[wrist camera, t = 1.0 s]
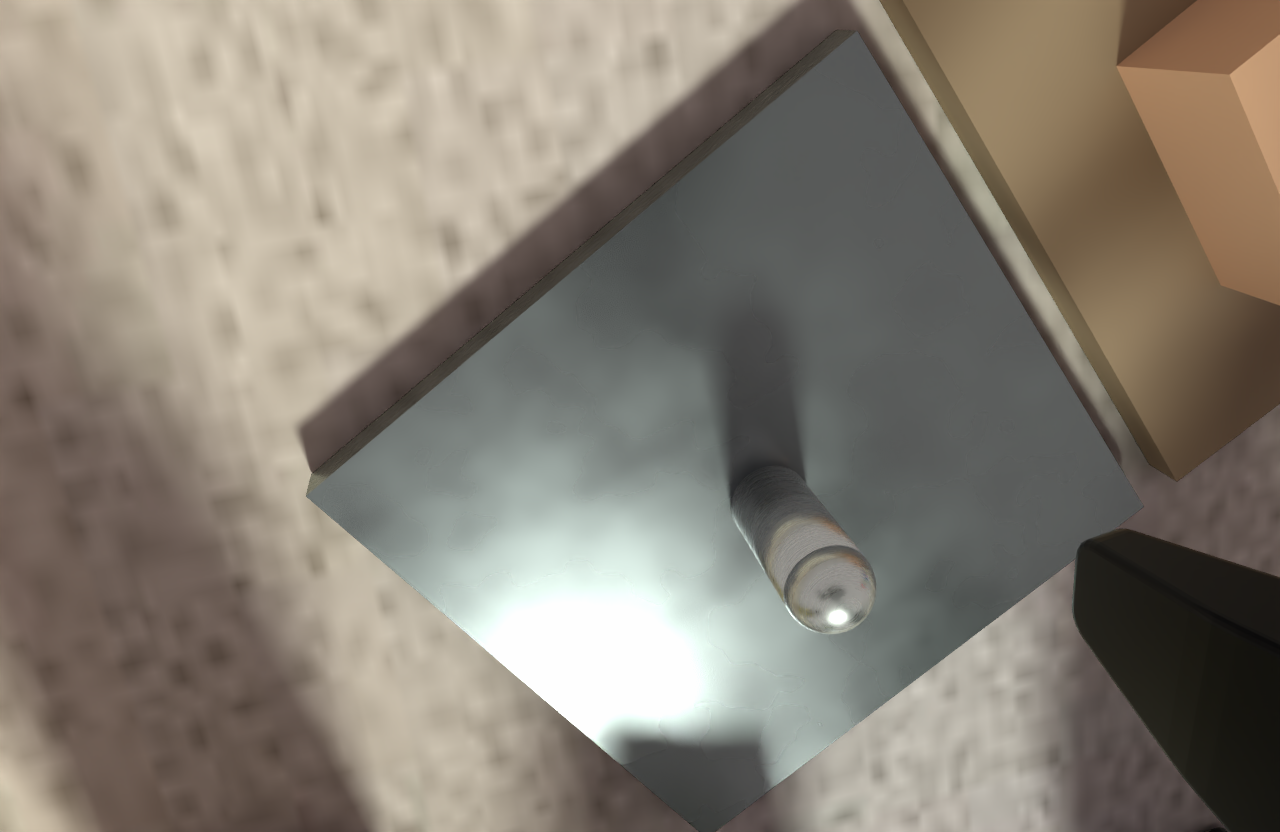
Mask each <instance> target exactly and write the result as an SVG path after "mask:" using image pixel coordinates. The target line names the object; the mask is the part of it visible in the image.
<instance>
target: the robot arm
mask: <svg viewBox="0 0 1280 832" xmlns="http://www.w3.org/2000/svg"><path fill="white" fill-rule="evenodd" d="M1072 613H1073V618H1074V621H1075V624H1076V627H1077V629H1078V631H1079V633H1080V634H1081V636H1082V637H1083V639H1084V640H1085V642H1086V643H1087V644H1088V646H1089V647H1090V649H1091V650H1092V652H1093V653H1094V654H1095V656H1096V657H1097V659H1098V660H1099V661H1100V663H1101V664H1102V666H1103V667H1104V668H1105V670H1106V671H1107V673H1108V674H1109V675H1110V677H1111V678H1112V680H1113V681H1114V682H1115V684H1116V685H1117V687H1118V688H1119V689H1120V691H1121V692H1122V694H1123V695H1124V696H1125V698H1126V699H1127V701H1128V702H1129V704H1130V705H1131V706H1132V708H1133V709H1134V711H1135V712H1136V713H1137V715H1138V716H1139V718H1140V719H1141V720H1142V722H1143V723H1144V725H1145V726H1146V727H1147V729H1148V730H1149V732H1150V733H1151V734H1152V736H1153V737H1154V739H1155V740H1156V741H1157V743H1158V744H1159V746H1160V747H1161V748H1162V750H1163V751H1164V753H1165V754H1166V755H1167V757H1168V758H1169V759H1170V761H1171V762H1172V763H1173V765H1174V766H1175V767H1176V769H1177V770H1178V771H1179V773H1180V774H1181V775H1182V777H1183V778H1184V779H1185V780H1186V782H1187V783H1188V784H1189V785H1190V786H1191V788H1192V789H1193V790H1194V791H1195V792H1196V794H1197V795H1198V796H1199V797H1200V798H1201V800H1202V801H1203V802H1204V803H1205V804H1206V805H1207V807H1208V808H1209V809H1210V810H1211V811H1212V812H1213V813H1214V815H1215V816H1216V817H1217V818H1218V819H1219V820H1220V822H1221V823H1222V824H1223V825H1224V826H1225V827H1226V828H1227V830H1228V831H1229V832H1280V577H1277V576H1274V575H1271V574H1267V573H1264V572H1261V571H1258V570H1255V569H1252V568H1249V567H1246V566H1242V565H1239V564H1236V563H1233V562H1230V561H1227V560H1224V559H1221V558H1217V557H1214V556H1211V555H1208V554H1205V553H1202V552H1199V551H1196V550H1192V549H1189V548H1186V547H1183V546H1180V545H1177V544H1174V543H1171V542H1168V541H1164V540H1161V539H1158V538H1155V537H1152V536H1149V535H1146V534H1143V533H1139V532H1136V531H1133V530H1129V529H1116V530H1113V531H1110V532H1107V533H1104V534H1101V535H1098V536H1096V537H1093V538H1090V539H1087V540H1085V541H1084V542H1082V543H1081V544H1080V546H1079V548H1078V549H1077V552H1076V560H1075V573H1074V586H1073V598H1072ZM1227 830H1226V829H1224V828H1216V829H1213V830H1211V831H1209V832H1228V831H1227Z"/></svg>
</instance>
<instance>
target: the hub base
mask: <svg viewBox="0 0 1280 832" xmlns="http://www.w3.org/2000/svg"><path fill="white" fill-rule="evenodd" d="M306 497H307V498H309V499H310V500H311V501H312V502H313V503H314V504H316V505H317V506H318V507H319V508H320V509H321V510H323V511H324V512H325V513H326V514H327V515H328V516H330V517H331V518H332V519H333V520H334V521H335V522H337V523H338V524H339V525H340V526H341V527H342V528H344V529H345V530H346V531H347V532H348V533H350V534H351V535H352V536H353V537H354V538H355V539H357V540H358V541H359V542H360V543H361V544H362V545H364V546H365V547H366V548H367V549H368V550H369V551H371V552H372V553H373V554H374V555H375V556H376V557H378V558H379V559H380V560H381V561H382V562H384V563H385V564H386V565H387V566H388V567H389V568H391V569H392V570H393V571H394V572H395V573H396V574H398V575H399V576H400V577H401V578H402V579H403V580H405V581H406V582H407V583H408V584H409V585H410V586H412V587H413V588H414V589H415V590H416V591H417V592H419V593H420V594H421V595H422V596H423V597H425V598H426V599H427V600H428V601H429V602H430V603H432V604H433V605H434V606H435V607H436V608H437V609H439V610H440V611H441V612H442V613H443V614H444V615H446V616H447V617H448V618H449V619H450V620H451V621H453V622H454V623H455V624H456V625H457V626H459V627H460V628H461V629H462V630H463V631H464V632H466V633H467V634H468V635H469V636H470V637H471V638H473V639H474V640H475V641H476V642H477V643H478V644H480V645H481V646H482V647H483V648H484V649H485V650H487V651H488V652H489V653H490V654H491V655H492V656H494V657H495V658H496V659H497V660H498V661H500V662H501V663H502V664H503V665H504V666H505V667H507V668H508V669H509V670H510V671H511V672H512V673H514V674H515V675H516V676H517V677H518V678H519V679H521V680H522V681H523V682H524V683H525V684H526V685H528V686H529V687H530V688H531V689H532V690H534V691H535V692H536V693H537V694H538V695H539V696H541V697H542V698H543V699H544V700H545V701H546V702H548V703H549V704H550V705H551V706H552V707H553V708H555V709H556V710H557V711H558V712H559V713H560V714H562V715H563V716H564V717H565V718H566V719H568V720H569V721H570V722H571V723H572V724H573V725H575V726H576V727H577V728H578V729H579V730H580V731H582V732H583V733H584V734H585V735H586V736H587V737H589V738H590V739H591V740H592V741H593V742H594V743H596V744H597V745H598V746H599V747H600V748H601V749H603V750H604V751H605V752H606V753H607V754H609V755H610V756H611V757H612V758H613V759H614V760H616V761H617V762H618V763H619V764H620V765H621V766H623V767H624V768H625V769H626V770H627V771H628V772H630V773H631V774H632V775H633V776H634V777H635V778H637V779H638V780H639V781H640V782H641V783H643V784H644V785H645V786H646V787H647V788H648V789H650V790H651V791H652V792H653V793H654V794H655V795H657V796H658V797H659V798H660V799H661V800H662V801H664V802H665V803H666V804H667V805H668V806H669V807H671V808H672V809H673V810H674V811H675V812H676V813H678V814H679V815H680V816H681V817H682V818H684V819H685V820H686V821H687V822H688V823H689V824H691V825H692V826H693V827H694V828H695V829H696V830H698V831H699V832H716V831H717V830H718V829H719V828H721V827H722V826H723V825H725V824H726V823H727V822H729V821H730V820H731V819H733V818H734V817H735V816H737V815H738V814H739V813H741V812H742V811H743V810H745V809H746V808H747V807H748V806H750V805H751V804H752V803H754V802H755V801H756V800H758V799H759V798H760V797H762V796H763V795H764V794H766V793H767V792H768V791H770V790H771V789H772V788H774V787H775V786H776V785H778V784H779V783H780V782H781V781H783V780H784V779H785V778H787V777H788V776H789V775H791V774H792V773H793V772H795V771H796V770H797V769H799V768H800V767H801V766H803V765H804V764H805V763H807V762H808V761H809V760H810V759H812V758H813V757H814V756H816V755H817V754H818V753H820V752H821V751H822V750H824V749H825V748H826V747H828V746H829V745H830V744H832V743H833V742H834V741H836V740H837V739H838V738H840V737H841V736H842V735H843V734H845V733H846V732H847V731H849V730H850V729H851V728H853V727H854V726H855V725H857V724H858V723H859V722H861V721H862V720H863V719H865V718H866V717H867V716H869V715H870V714H871V713H872V712H874V711H875V710H876V709H878V708H879V707H880V706H882V705H883V704H884V703H886V702H887V701H888V700H890V699H891V698H892V697H894V696H895V695H896V694H898V693H899V692H900V691H902V690H903V689H904V688H905V687H907V686H908V685H909V684H911V683H912V682H913V681H915V680H916V679H917V678H919V677H920V676H921V675H923V674H924V673H925V672H927V671H928V670H929V669H931V668H932V667H933V666H934V665H936V664H937V663H938V662H940V661H941V660H942V659H944V658H945V657H946V656H948V655H949V654H950V653H952V652H953V651H954V650H956V649H957V648H958V647H960V646H961V645H962V644H964V643H965V642H966V641H967V640H969V639H970V638H971V637H973V636H974V635H975V634H977V633H978V632H979V631H981V630H982V629H983V628H985V627H986V626H987V625H989V624H990V623H991V622H993V621H994V620H995V619H996V618H998V617H999V616H1000V615H1002V614H1003V613H1004V612H1006V611H1007V610H1008V609H1010V608H1011V607H1012V606H1014V605H1015V604H1016V603H1018V602H1019V601H1020V600H1022V599H1023V598H1024V597H1026V596H1027V595H1028V594H1029V593H1031V592H1032V591H1033V590H1035V589H1036V588H1037V587H1039V586H1040V585H1041V584H1043V583H1044V582H1045V581H1047V580H1048V579H1049V578H1051V577H1052V576H1053V575H1055V574H1056V573H1057V572H1059V571H1060V570H1061V569H1062V568H1064V567H1065V566H1066V565H1068V564H1069V563H1070V562H1072V561H1073V560H1074V559H1076V552H1077V549H1078V548H1079V546H1080V544H1081V543H1082V542H1084V541H1085V540H1087V539H1090V538H1093V537H1096V536H1098V535H1101V534H1104V533H1107V532H1110V531H1113V530H1114V529H1115V528H1117V527H1118V526H1119V525H1121V524H1122V523H1123V522H1124V521H1126V520H1127V519H1128V518H1130V517H1131V516H1132V515H1134V514H1135V513H1136V512H1138V511H1139V510H1140V509H1142V508H1143V507H1144V506H1143V504H1142V503H1141V501H1140V499H1139V498H1138V496H1137V494H1136V493H1135V491H1134V490H1133V488H1132V486H1131V485H1130V483H1129V481H1128V480H1127V478H1126V476H1125V475H1124V473H1123V471H1122V470H1121V468H1120V466H1119V465H1118V463H1117V461H1116V460H1115V458H1114V456H1113V455H1112V453H1111V451H1110V450H1109V448H1108V446H1107V445H1106V443H1105V441H1104V440H1103V438H1102V436H1101V435H1100V433H1099V431H1098V430H1097V428H1096V426H1095V425H1094V423H1093V421H1092V420H1091V418H1090V416H1089V415H1088V413H1087V411H1086V410H1085V408H1084V407H1083V405H1082V403H1081V402H1080V400H1079V398H1078V397H1077V395H1076V393H1075V392H1074V390H1073V388H1072V387H1071V385H1070V383H1069V382H1068V380H1067V378H1066V377H1065V375H1064V373H1063V372H1062V370H1061V368H1060V367H1059V365H1058V363H1057V362H1056V360H1055V358H1054V357H1053V355H1052V353H1051V352H1050V350H1049V348H1048V347H1047V345H1046V343H1045V342H1044V340H1043V338H1042V337H1041V335H1040V333H1039V332H1038V330H1037V328H1036V327H1035V325H1034V324H1033V322H1032V320H1031V319H1030V317H1029V315H1028V314H1027V312H1026V310H1025V309H1024V307H1023V305H1022V304H1021V302H1020V300H1019V299H1018V297H1017V295H1016V294H1015V292H1014V290H1013V289H1012V287H1011V285H1010V284H1009V282H1008V280H1007V279H1006V277H1005V275H1004V274H1003V272H1002V270H1001V269H1000V267H999V265H998V264H997V262H996V260H995V259H994V257H993V255H992V254H991V252H990V250H989V249H988V247H987V246H986V244H985V242H984V241H983V239H982V237H981V236H980V234H979V232H978V231H977V229H976V227H975V226H974V224H973V222H972V221H971V219H970V217H969V216H968V214H967V212H966V211H965V209H964V207H963V206H962V204H961V202H960V201H959V199H958V197H957V196H956V194H955V192H954V191H953V189H952V187H951V186H950V184H949V182H948V181H947V179H946V177H945V176H944V174H943V172H942V171H941V169H940V167H939V166H938V164H937V163H936V161H935V159H934V158H933V156H932V154H931V153H930V151H929V149H928V148H927V146H926V144H925V143H924V141H923V139H922V138H921V136H920V134H919V133H918V131H917V129H916V128H915V126H914V124H913V123H912V121H911V119H910V118H909V116H908V114H907V113H906V111H905V109H904V108H903V106H902V104H901V103H900V101H899V99H898V98H897V96H896V94H895V93H894V91H893V89H892V88H891V86H890V84H889V83H888V81H887V80H886V78H885V76H884V75H883V73H882V71H881V70H880V68H879V66H878V65H877V63H876V61H875V60H874V58H873V56H872V55H871V53H870V51H869V50H868V48H867V46H866V45H865V43H864V41H863V40H862V38H861V36H860V35H859V33H858V31H850V30H836V31H835V32H833V33H832V34H831V35H830V36H829V37H828V38H826V39H825V40H824V41H823V42H822V43H820V44H819V45H818V46H817V47H816V48H815V49H813V50H812V51H811V52H810V53H809V54H807V55H806V56H805V57H804V58H803V59H802V60H800V61H799V62H798V63H797V64H796V65H794V66H793V67H792V68H791V69H790V70H789V71H787V72H786V73H785V74H784V75H783V76H781V77H780V78H779V79H778V80H777V81H776V82H774V83H773V84H772V85H771V86H770V87H768V88H767V89H766V90H765V91H764V92H763V93H761V94H760V95H759V96H758V97H757V98H755V99H754V100H753V101H752V102H751V103H750V104H748V105H747V106H746V107H745V108H744V109H743V110H741V111H740V112H739V113H738V114H737V115H735V116H734V117H733V118H732V119H731V120H730V121H728V122H727V123H726V124H725V125H724V126H722V127H721V128H720V129H719V130H718V131H717V132H715V133H714V134H713V135H712V136H711V137H709V138H708V139H707V140H706V141H705V142H704V143H702V144H701V145H700V146H699V147H698V148H696V149H695V150H694V151H693V152H692V153H691V154H689V155H688V156H687V157H686V158H685V159H683V160H682V161H681V162H680V163H679V164H678V165H676V166H675V167H674V168H673V169H672V170H670V171H669V172H668V173H667V174H666V175H665V176H663V177H662V178H661V179H660V180H659V181H657V182H656V183H655V184H654V185H653V186H652V187H650V188H649V189H648V190H647V191H646V192H644V193H643V194H642V195H641V196H640V197H639V198H637V199H636V200H635V201H634V202H633V203H631V204H630V205H629V206H628V207H627V208H626V209H624V210H623V211H622V212H621V213H620V214H618V215H617V216H616V217H615V218H614V219H613V220H611V221H610V222H609V223H608V224H607V225H605V226H604V227H603V228H602V229H601V230H600V231H598V232H597V233H596V234H595V235H594V236H592V237H591V238H590V239H589V240H588V241H587V242H585V243H584V244H583V245H582V246H581V247H579V248H578V249H577V250H576V251H575V252H574V253H572V254H571V255H570V256H569V257H568V258H566V259H565V260H564V261H563V262H562V263H561V264H559V265H558V266H557V267H556V268H555V269H553V270H552V271H551V272H550V273H549V274H548V275H546V276H545V277H544V278H543V279H542V280H540V281H539V282H538V283H537V284H536V285H535V286H533V287H532V288H531V289H530V290H529V291H527V292H526V293H525V294H524V295H523V296H522V297H520V298H519V299H518V300H517V301H516V302H514V303H513V304H512V305H511V306H510V307H509V308H507V309H506V310H505V311H504V312H503V313H501V314H500V315H499V316H498V317H497V318H496V319H494V320H493V321H492V322H491V323H490V324H488V325H487V326H486V327H485V328H484V329H483V330H481V331H480V332H479V333H478V334H477V335H475V336H474V337H473V338H472V339H471V340H470V341H468V342H467V343H466V344H465V345H464V346H462V347H461V348H460V349H459V350H458V351H457V352H455V353H454V354H453V355H452V356H451V357H449V358H448V359H447V360H446V361H445V362H444V363H442V364H441V365H440V366H439V367H438V368H437V369H435V370H434V371H433V372H432V373H431V374H429V375H428V376H427V377H426V378H425V379H424V380H422V381H421V382H420V383H419V384H418V385H416V386H415V387H414V388H413V389H412V390H411V391H409V392H408V393H407V394H406V395H405V396H403V397H402V398H401V399H400V400H399V401H398V402H396V403H395V404H394V405H393V406H392V407H390V408H389V409H388V410H387V411H386V412H385V413H383V414H382V415H381V416H380V417H379V418H377V419H376V420H375V421H374V422H373V423H372V424H370V425H369V426H368V427H367V428H366V429H364V430H363V431H362V432H361V433H360V434H359V435H357V436H356V437H355V438H354V439H353V440H351V441H350V442H349V443H348V444H347V445H346V446H344V447H343V448H342V449H341V450H340V451H338V452H337V453H336V454H335V455H334V456H333V457H331V458H330V459H329V460H328V461H327V462H325V463H324V464H323V465H322V466H321V467H320V468H318V469H317V470H316V471H315V472H314V473H312V474H311V477H310V481H309V485H308V489H307V493H306Z"/></svg>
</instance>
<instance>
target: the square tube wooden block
mask: <svg viewBox="0 0 1280 832" xmlns="http://www.w3.org/2000/svg"><path fill="white" fill-rule="evenodd" d="M1116 67H1117V69H1118V71H1119V73H1120V75H1121V77H1122V79H1123V81H1124V83H1125V86H1126V88H1127V90H1128V92H1129V94H1130V96H1131V98H1132V100H1133V102H1134V104H1135V107H1136V109H1137V111H1138V113H1139V115H1140V117H1141V119H1142V121H1143V123H1144V125H1145V128H1146V130H1147V132H1148V134H1149V136H1150V138H1151V140H1152V142H1153V144H1154V146H1155V149H1156V151H1157V153H1158V155H1159V157H1160V159H1161V161H1162V163H1163V165H1164V167H1165V169H1166V172H1167V174H1168V176H1169V178H1170V180H1171V182H1172V184H1173V186H1174V188H1175V190H1176V193H1177V195H1178V197H1179V199H1180V201H1181V203H1182V205H1183V207H1184V209H1185V211H1186V214H1187V216H1188V218H1189V220H1190V222H1191V224H1192V226H1193V228H1194V230H1195V232H1196V235H1197V237H1198V239H1199V241H1200V243H1201V245H1202V247H1203V249H1204V251H1205V253H1206V256H1207V258H1208V260H1209V262H1210V264H1211V266H1212V268H1213V270H1214V272H1215V274H1216V276H1217V279H1218V281H1219V283H1220V285H1221V286H1224V287H1227V288H1230V289H1233V290H1236V291H1239V292H1242V293H1245V294H1248V295H1250V296H1253V297H1256V298H1259V299H1262V300H1265V301H1268V302H1271V303H1274V304H1277V305H1280V0H1197V1H1196V2H1194V3H1193V4H1192V5H1191V6H1189V7H1188V8H1187V9H1186V10H1185V11H1183V12H1182V13H1181V14H1180V15H1178V16H1177V17H1176V18H1175V19H1173V20H1172V21H1171V22H1170V23H1169V24H1167V25H1166V26H1165V27H1164V28H1162V29H1161V30H1160V31H1159V32H1158V33H1156V34H1155V35H1154V36H1153V37H1151V38H1150V39H1149V40H1148V41H1146V42H1145V43H1144V44H1143V45H1142V46H1140V47H1139V48H1138V49H1137V50H1135V51H1134V52H1133V53H1132V54H1130V55H1129V56H1128V57H1127V58H1126V59H1124V60H1123V61H1122V62H1121V63H1119V64H1118V65H1117V66H1116Z"/></svg>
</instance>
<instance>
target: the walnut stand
mask: <svg viewBox="0 0 1280 832" xmlns="http://www.w3.org/2000/svg"><path fill="white" fill-rule="evenodd" d="M1196 1H1197V0H880V2H881V4H882V6H883V7H884V9H885V11H886V12H887V14H888V16H889V18H890V19H891V21H892V23H893V24H894V26H895V28H896V30H897V31H898V33H899V35H900V36H901V38H902V40H903V42H904V43H905V45H906V47H907V49H908V50H909V52H910V54H911V55H912V57H913V59H914V61H915V62H916V64H917V66H918V67H919V69H920V71H921V73H922V74H923V76H924V78H925V79H926V81H927V83H928V85H929V86H930V88H931V90H932V91H933V93H934V95H935V97H936V98H937V100H938V102H939V104H940V105H941V107H942V109H943V110H944V112H945V114H946V116H947V117H948V119H949V121H950V122H951V124H952V126H953V128H954V129H955V131H956V133H957V134H958V136H959V138H960V140H961V141H962V143H963V145H964V147H965V148H966V150H967V152H968V153H969V155H970V157H971V159H972V160H973V162H974V164H975V165H976V167H977V169H978V171H979V172H980V174H981V176H982V177H983V179H984V181H985V183H986V184H987V186H988V188H989V189H990V191H991V193H992V195H993V196H994V198H995V200H996V202H997V203H998V205H999V207H1000V208H1001V210H1002V212H1003V214H1004V215H1005V217H1006V219H1007V220H1008V222H1009V224H1010V226H1011V227H1012V229H1013V231H1014V232H1015V234H1016V236H1017V238H1018V239H1019V241H1020V243H1021V245H1022V246H1023V248H1024V250H1025V251H1026V253H1027V255H1028V257H1029V258H1030V260H1031V262H1032V263H1033V265H1034V267H1035V269H1036V270H1037V272H1038V274H1039V275H1040V277H1041V279H1042V281H1043V282H1044V284H1045V286H1046V287H1047V289H1048V291H1049V293H1050V294H1051V296H1052V298H1053V300H1054V301H1055V303H1056V305H1057V306H1058V308H1059V310H1060V312H1061V313H1062V315H1063V317H1064V318H1065V320H1066V322H1067V324H1068V325H1069V327H1070V329H1071V330H1072V332H1073V334H1074V336H1075V337H1076V339H1077V341H1078V343H1079V344H1080V346H1081V348H1082V349H1083V351H1084V353H1085V355H1086V356H1087V358H1088V360H1089V361H1090V363H1091V365H1092V367H1093V368H1094V370H1095V372H1096V373H1097V375H1098V377H1099V379H1100V380H1101V382H1102V384H1103V385H1104V387H1105V389H1106V391H1107V392H1108V394H1109V396H1110V398H1111V399H1112V401H1113V403H1114V404H1115V406H1116V408H1117V410H1118V411H1119V413H1120V415H1121V416H1122V418H1123V420H1124V422H1125V423H1126V425H1127V427H1128V428H1129V430H1130V432H1131V434H1132V435H1133V437H1134V439H1135V440H1136V442H1137V444H1138V446H1139V447H1140V449H1141V451H1142V453H1143V454H1144V456H1145V458H1146V459H1147V461H1148V463H1149V465H1151V466H1153V467H1154V468H1156V469H1157V470H1159V471H1161V472H1162V473H1164V474H1165V475H1167V476H1169V477H1170V478H1172V479H1173V480H1175V481H1179V480H1180V479H1181V478H1183V477H1184V476H1185V475H1186V474H1188V473H1189V472H1190V471H1192V470H1193V469H1194V468H1196V467H1197V466H1198V465H1200V464H1201V463H1202V462H1204V461H1205V460H1206V459H1208V458H1209V457H1210V456H1212V455H1213V454H1214V453H1215V452H1217V451H1218V450H1219V449H1221V448H1222V447H1223V446H1225V445H1226V444H1227V443H1229V442H1230V441H1231V440H1233V439H1234V438H1235V437H1237V436H1238V435H1239V434H1241V433H1242V432H1243V431H1245V430H1246V429H1247V428H1248V427H1250V426H1251V425H1252V424H1254V423H1255V422H1256V421H1258V420H1259V419H1260V418H1262V417H1263V416H1264V415H1266V414H1267V413H1268V412H1270V411H1271V410H1272V409H1274V408H1275V407H1276V406H1277V405H1279V404H1280V305H1277V304H1274V303H1271V302H1268V301H1265V300H1262V299H1259V298H1256V297H1253V296H1250V295H1248V294H1245V293H1242V292H1239V291H1236V290H1233V289H1230V288H1227V287H1224V286H1221V285H1220V283H1219V281H1218V279H1217V276H1216V274H1215V272H1214V270H1213V268H1212V266H1211V264H1210V262H1209V260H1208V258H1207V256H1206V253H1205V251H1204V249H1203V247H1202V245H1201V243H1200V241H1199V239H1198V237H1197V235H1196V232H1195V230H1194V228H1193V226H1192V224H1191V222H1190V220H1189V218H1188V216H1187V214H1186V211H1185V209H1184V207H1183V205H1182V203H1181V201H1180V199H1179V197H1178V195H1177V193H1176V190H1175V188H1174V186H1173V184H1172V182H1171V180H1170V178H1169V176H1168V174H1167V172H1166V169H1165V167H1164V165H1163V163H1162V161H1161V159H1160V157H1159V155H1158V153H1157V151H1156V149H1155V146H1154V144H1153V142H1152V140H1151V138H1150V136H1149V134H1148V132H1147V130H1146V128H1145V125H1144V123H1143V121H1142V119H1141V117H1140V115H1139V113H1138V111H1137V109H1136V107H1135V104H1134V102H1133V100H1132V98H1131V96H1130V94H1129V92H1128V90H1127V88H1126V86H1125V83H1124V81H1123V79H1122V77H1121V75H1120V73H1119V71H1118V69H1117V67H1116V66H1117V65H1118V64H1119V63H1121V62H1122V61H1123V60H1124V59H1126V58H1127V57H1128V56H1129V55H1130V54H1132V53H1133V52H1134V51H1135V50H1137V49H1138V48H1139V47H1140V46H1142V45H1143V44H1144V43H1145V42H1146V41H1148V40H1149V39H1150V38H1151V37H1153V36H1154V35H1155V34H1156V33H1158V32H1159V31H1160V30H1161V29H1162V28H1164V27H1165V26H1166V25H1167V24H1169V23H1170V22H1171V21H1172V20H1173V19H1175V18H1176V17H1177V16H1178V15H1180V14H1181V13H1182V12H1183V11H1185V10H1186V9H1187V8H1188V7H1189V6H1191V5H1192V4H1193V3H1194V2H1196Z"/></svg>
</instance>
